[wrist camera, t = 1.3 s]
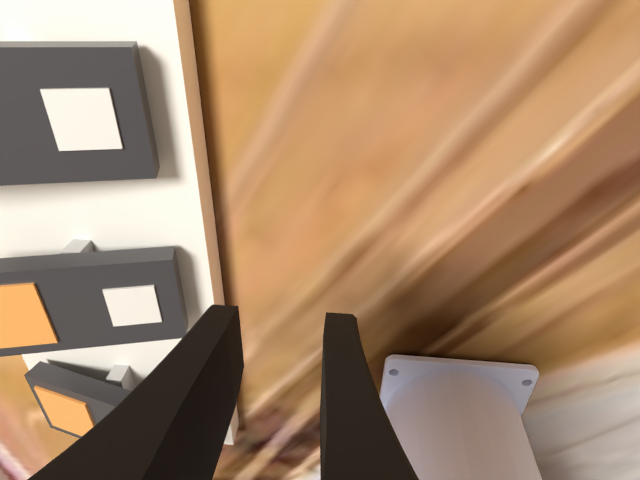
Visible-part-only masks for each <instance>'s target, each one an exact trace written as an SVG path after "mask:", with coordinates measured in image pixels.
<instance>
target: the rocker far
mask: <svg viewBox="0 0 640 480" xmlns="http://www.w3.org/2000/svg"><path fill="white" fill-rule="evenodd" d="M24 376H25V378H26V380H27V382H28V384H29V386H30V388H31V390H32V392H33V394H34V396H35V398H36V400H37V402H38V404H39V406H40V408H41V410H42V412H43V414H44V416H45V418H46V419H47V421H48V423H49V425H50V427H51V428H54V429H56V430H59V431H62V432H64V433H67V434H70V435H72V436H75V437H78V438H81V437H82V436H83V435H84V434H85V433H87V432H88V431H89V430H90V429H91V428H92V427H94V426H95V425H96V424H97V423H98V422H99V421H100V420H102V419H103V418H104V417H105V416H106V415H107V414H108V413H109V412H110V411H112V410H113V409H114V408H115V407H116V406H117V405H118V404H119V403H120V402H121V401H122V400H123V399H124V398H125V397H126V396H127V395H128V394H129V393H130V392H131V391H130V390H127V389H124V388H121V387H118V386H115V385H112V384H109V383H106V382H103V381H100V380H97V379H94V378H91V377H88V376H84V375H81V374H78V373H75V372H72V371H69V370H66V369H63V368H60V367H57V366H54V365H51V364H48V363H45V362H42V361H40V362H38V363H37V364H36V365H35V366H34V367H33V368H32V369H31V370H30V371H28V372H27V373H26V374H25V375H24Z"/></svg>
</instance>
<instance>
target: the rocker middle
mask: <svg viewBox="0 0 640 480" xmlns="http://www.w3.org/2000/svg"><path fill="white" fill-rule="evenodd" d="M188 323H189V322H188V317H187V311H186V306H185V300H184V295H183V290H182V284H181V279H180V273H179V268H178V262H177V257H176V251H175V246H168V247H153V248H139V249H125V250H110V251H96V252H82V253H67V254H53V255H39V256H24V257H10V258H0V357H2V356H12V355H22V354H32V353H42V352H52V351H61V350H71V349H81V348H91V347H101V346H111V345H121V344H131V343H140V342H150V341H160V340H170V339H180V338H183V337H184V336H185V335H186V334H187V332H188Z"/></svg>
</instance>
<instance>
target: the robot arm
mask: <svg viewBox="0 0 640 480" xmlns="http://www.w3.org/2000/svg"><path fill="white" fill-rule="evenodd" d="M243 368H244V361H243V351H242V341H241V331H240V320H239V310H238V306H228V305H214V304H213V305H211V306H210V307H209V308H208V309H207V310H206V311H205V312H204V314H203V315H202V316H201V317H200V318H199V320H198V321H197V322H196V323H195V324H194V325H193V327H192V328H191V329H190V330H189V331H188V332H187V334H186V335H185V336H184V337H183V338H182V339H181V340H180V341H179V343H178V344H177V345H176V346H175V347H174V348H173V349H172V350H171V351H170V352H169V353H168V355H167V356H166V357H165V358H164V359H163V360H162V361H161V362H160V363H159V364H158V365H157V366H156V367H155V368H154V369H153V371H152V372H151V373H150V374H149V375H148V376H147V377H146V378H145V379H144V380H143V381H142V382H141V383H140V384H139V385H138V386H137V387H136V388H134V389H133V390H132V391H131V392H130V393H129V394H128V395H127V396H126V397H125V398H124V399H123V400H122V401H121V402H120V403H119V404H118V405H117V406H116V407H115V408H114V409H113V410H112V411H110V412H109V413H108V414H107V415H106V416H105V417H104V418H103V419H102V420H100V421H99V422H98V423H97V424H96V425H95V426H94V427H92V428H91V429H90V430H89V431H88V432H87V433H85V434H84V435H83V436H82V437H81V438H79V439H78V440H77V441H76V442H75V443H74V444H72V445H71V446H70V447H69V448H67V449H66V450H65V451H64V452H62V453H61V454H60V455H59V456H57V457H56V458H55V459H53V460H52V461H51V462H50V463H48V464H47V465H46V466H45V467H43V468H42V469H41V470H39V471H38V472H37V473H36V474H34V475H33V476H32V477H30V478H29V479H28V480H212V478H213V475H214V472H215V469H216V465H217V462H218V459H219V456H220V453H221V450H222V447H223V444H224V441H225V438H226V435H227V432H228V429H229V426H230V423H231V420H232V416H233V413H234V410H235V407H236V402H237V398H238V393H239V388H240V383H241V378H242V373H243ZM392 369H396V370H392ZM538 378H539V372H538V369H537V367H535V366H534V365H528V364H515V363H501V362H488V361H475V360H461V359H448V358H435V357H421V356H408V355H390V356H388V357H387V358H386V359H385V364H384V370H383V377H382V383H381V390H380V396H379V394H378V392H377V389H376V386H375V384H374V381H373V378H372V376H371V373H370V370H369V367H368V364H367V361H366V358H365V355H364V351H363V348H362V344H361V340H360V336H359V331H358V326H357V318H356V317H355V316H354V315H353V314H341V313H327V312H326V318H325V326H324V336H323V358H322V381H321V403H320V458H321V480H542V478H541V475H540V472H539V469H538V466H537V463H536V460H535V457H534V454H533V452H532V449H531V446H530V443H529V440H528V437H527V434H526V431H525V428H524V425H523V423H522V420H521V416H522V414H523V412H524V409H525V407H526V405H527V403H528V400H529V398H530V396H531V394H532V391H533V389H534V387H535V385H536V382H537V380H538Z"/></svg>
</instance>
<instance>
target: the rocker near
mask: <svg viewBox="0 0 640 480" xmlns="http://www.w3.org/2000/svg"><path fill="white" fill-rule="evenodd" d="M159 169H160V164H159V158H158V153H157V147H156V142H155V137H154V131H153V126H152V120H151V115H150V109H149V104H148V98H147V93H146V87H145V82H144V76H143V71H142V66H141V60H140V55H139V49H138V44H137V41H0V186H5V185H27V184H48V183H70V182H91V181H113V180H134V179H156V178H157V175H158V172H159Z"/></svg>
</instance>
